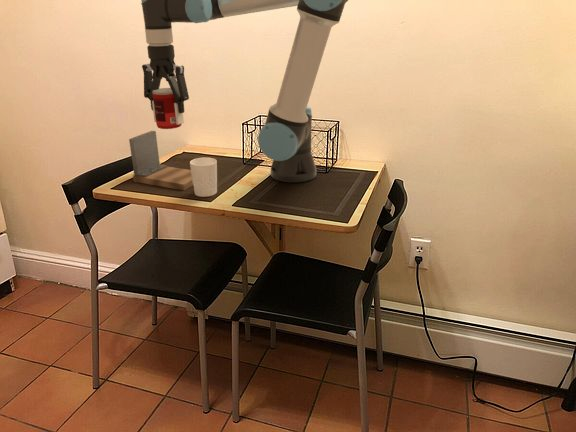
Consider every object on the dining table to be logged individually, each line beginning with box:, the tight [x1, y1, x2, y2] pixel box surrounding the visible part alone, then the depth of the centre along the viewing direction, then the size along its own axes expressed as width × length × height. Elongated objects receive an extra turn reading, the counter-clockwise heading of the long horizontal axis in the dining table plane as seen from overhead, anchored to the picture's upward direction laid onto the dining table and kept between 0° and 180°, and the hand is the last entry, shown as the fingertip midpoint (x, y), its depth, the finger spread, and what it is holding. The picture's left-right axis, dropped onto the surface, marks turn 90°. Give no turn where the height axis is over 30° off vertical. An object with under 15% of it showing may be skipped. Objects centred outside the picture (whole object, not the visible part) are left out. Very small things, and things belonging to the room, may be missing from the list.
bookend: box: [128, 130, 168, 177], centre depth 161 cm, size 5×11×12 cm, turn 155°
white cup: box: [189, 157, 218, 198], centre depth 149 cm, size 8×8×10 cm
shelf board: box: [132, 165, 194, 191], centre depth 161 cm, size 20×12×2 cm, turn 65°
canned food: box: [153, 87, 182, 130], centre depth 151 cm, size 8×8×11 cm
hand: (169, 122), depth 153 cm, fingers closed on canned food, 8 cm apart
